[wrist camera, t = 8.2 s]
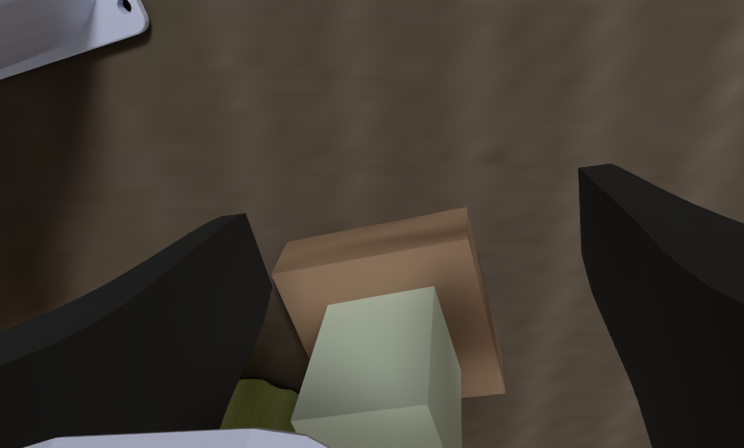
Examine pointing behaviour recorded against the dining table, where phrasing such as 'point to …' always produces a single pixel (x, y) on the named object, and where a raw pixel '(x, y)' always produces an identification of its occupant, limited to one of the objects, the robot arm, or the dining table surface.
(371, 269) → the walnut slab
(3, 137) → the dining table surface
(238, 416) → the plant pot
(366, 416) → the sage block
